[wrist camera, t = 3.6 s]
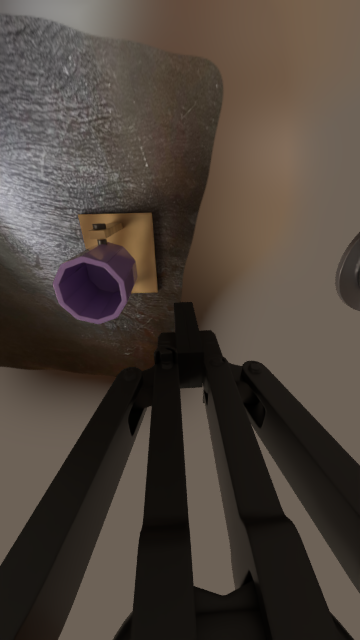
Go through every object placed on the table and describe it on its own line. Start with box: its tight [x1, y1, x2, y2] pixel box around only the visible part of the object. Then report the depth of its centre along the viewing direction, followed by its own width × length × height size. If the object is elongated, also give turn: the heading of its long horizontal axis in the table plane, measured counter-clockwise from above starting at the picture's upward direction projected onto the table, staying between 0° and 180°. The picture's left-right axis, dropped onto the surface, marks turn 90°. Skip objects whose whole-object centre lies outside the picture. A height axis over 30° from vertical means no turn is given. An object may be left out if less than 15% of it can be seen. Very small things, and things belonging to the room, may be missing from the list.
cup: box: [53, 239, 138, 324], centre depth 27 cm, size 8×9×9 cm
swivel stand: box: [78, 213, 158, 293], centre depth 33 cm, size 12×14×12 cm
